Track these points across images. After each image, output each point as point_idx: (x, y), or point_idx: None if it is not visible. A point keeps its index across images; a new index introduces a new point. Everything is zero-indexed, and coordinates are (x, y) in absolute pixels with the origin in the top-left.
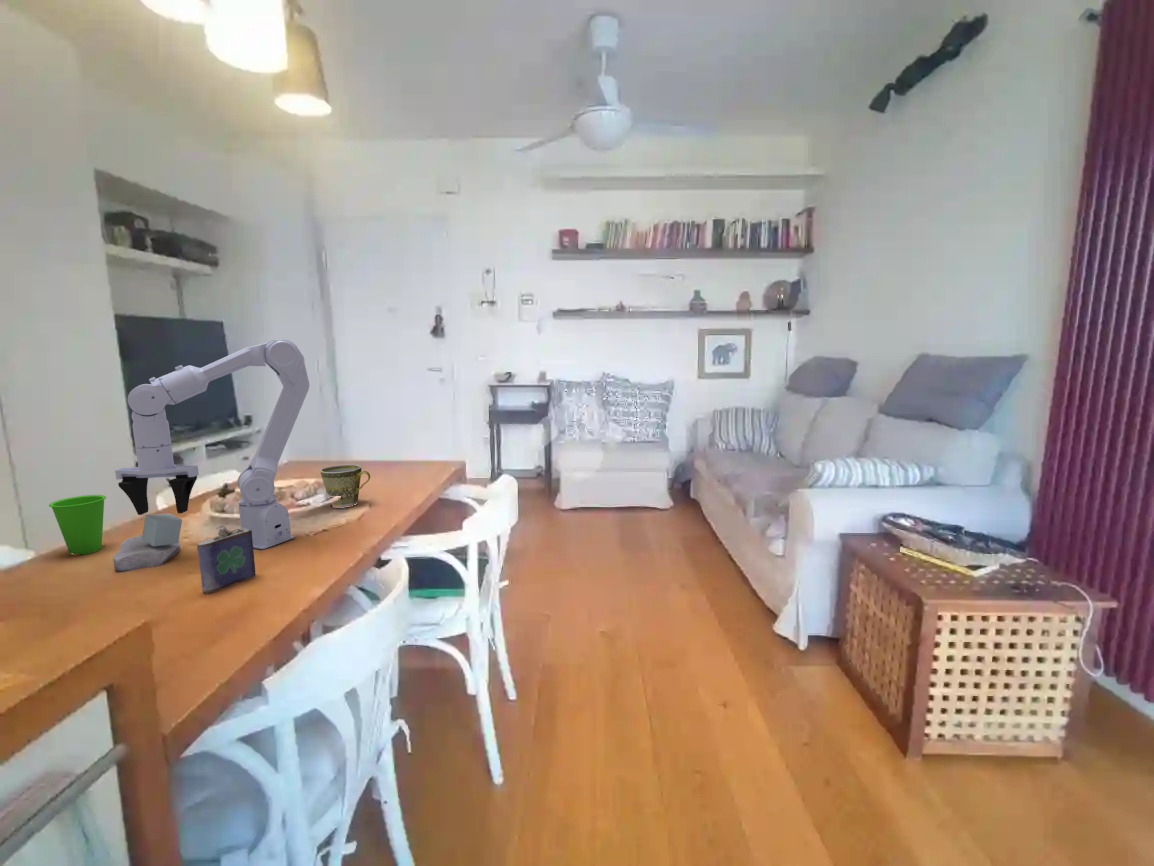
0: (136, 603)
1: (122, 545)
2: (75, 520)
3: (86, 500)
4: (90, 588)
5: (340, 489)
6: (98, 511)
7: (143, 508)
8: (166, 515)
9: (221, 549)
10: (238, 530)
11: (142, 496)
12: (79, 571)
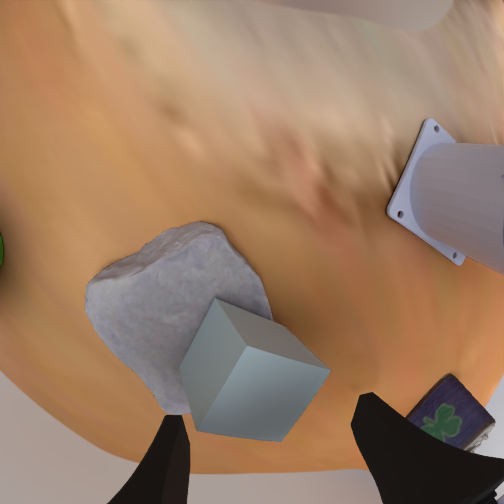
0: (323, 463)
1: (124, 360)
2: None
3: None
4: (203, 444)
5: None
6: None
7: (185, 452)
8: (258, 381)
9: None
10: (482, 437)
11: (175, 496)
12: (91, 378)
